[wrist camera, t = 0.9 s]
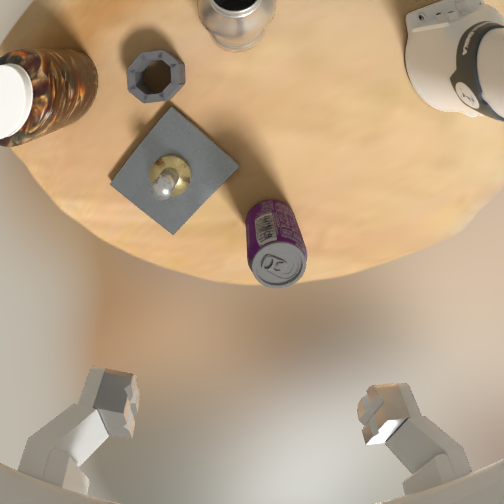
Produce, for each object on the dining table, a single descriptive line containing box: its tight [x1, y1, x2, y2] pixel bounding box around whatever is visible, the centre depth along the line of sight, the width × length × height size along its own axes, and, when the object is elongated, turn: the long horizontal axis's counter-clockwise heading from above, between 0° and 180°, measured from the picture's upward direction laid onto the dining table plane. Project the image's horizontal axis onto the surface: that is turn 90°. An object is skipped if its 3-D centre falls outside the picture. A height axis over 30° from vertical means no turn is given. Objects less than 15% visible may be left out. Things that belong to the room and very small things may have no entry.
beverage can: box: [246, 200, 307, 288], centre depth 42 cm, size 7×7×12 cm
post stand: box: [110, 106, 240, 235], centre depth 40 cm, size 14×12×7 cm
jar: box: [0, 48, 98, 147], centre depth 29 cm, size 12×12×15 cm
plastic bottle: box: [198, 0, 276, 52], centre depth 25 cm, size 6×7×20 cm
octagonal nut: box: [127, 50, 185, 103], centre depth 34 cm, size 6×6×4 cm
